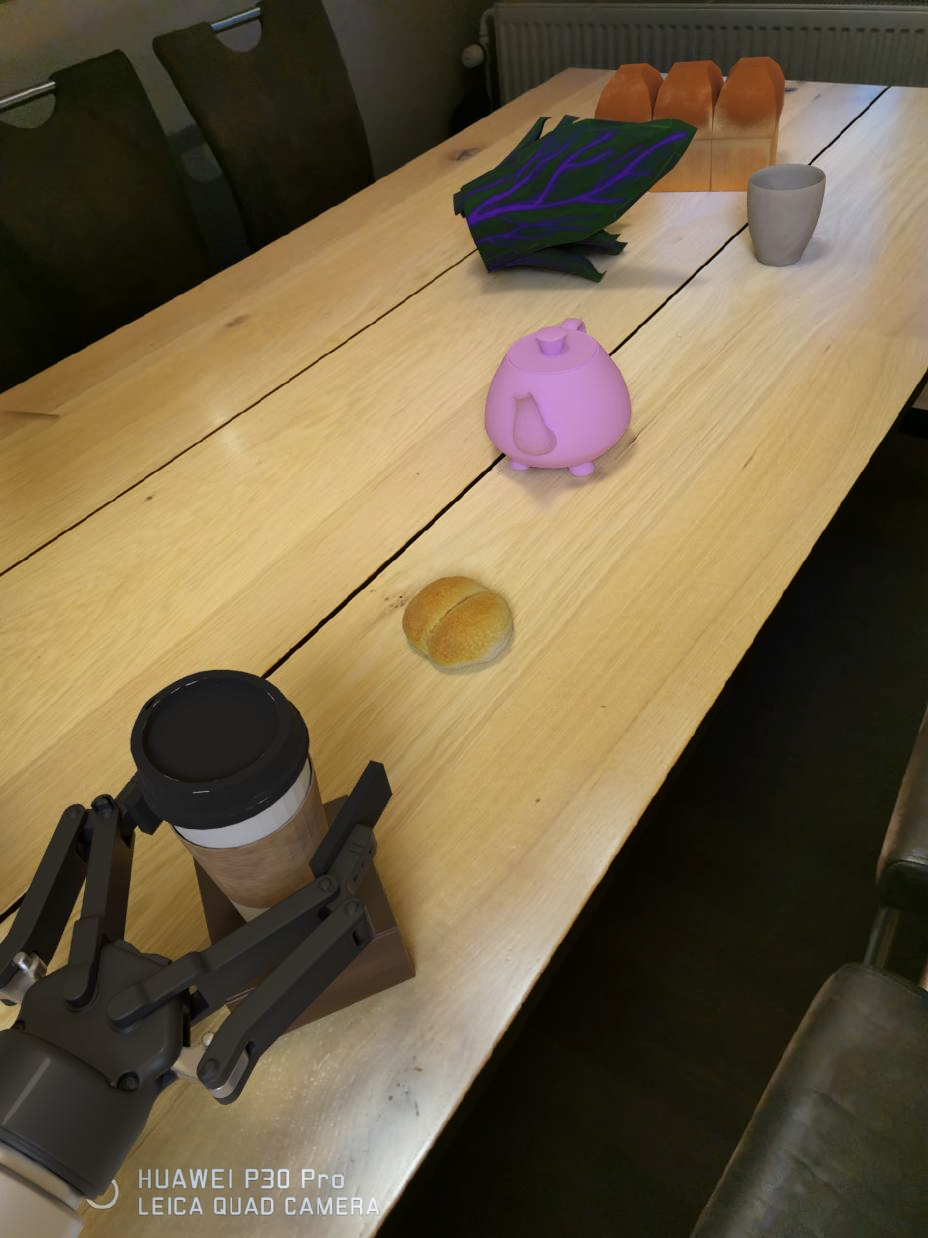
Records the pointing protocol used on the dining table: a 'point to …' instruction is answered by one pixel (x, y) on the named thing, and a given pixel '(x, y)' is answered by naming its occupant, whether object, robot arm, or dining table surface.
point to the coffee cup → (233, 782)
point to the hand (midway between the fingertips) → (290, 751)
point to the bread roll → (458, 622)
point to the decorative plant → (568, 191)
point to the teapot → (557, 400)
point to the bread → (706, 117)
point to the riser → (364, 975)
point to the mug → (784, 210)
